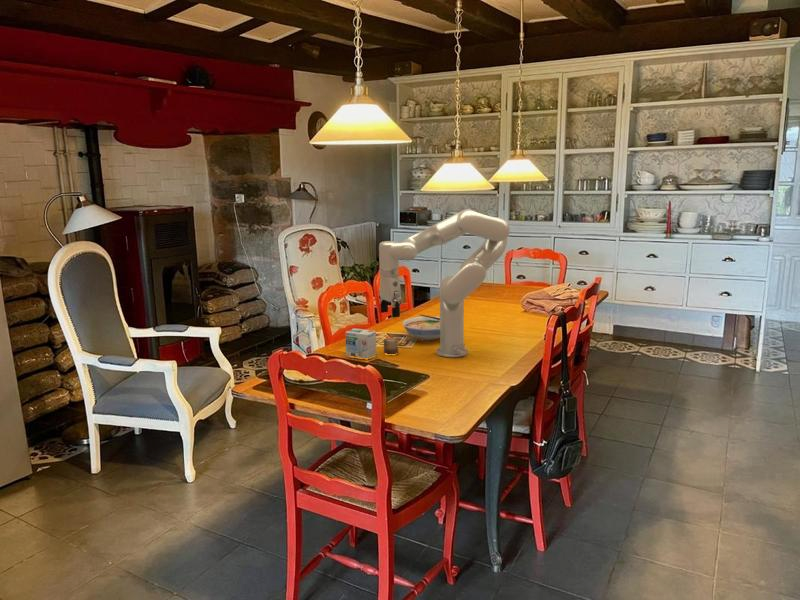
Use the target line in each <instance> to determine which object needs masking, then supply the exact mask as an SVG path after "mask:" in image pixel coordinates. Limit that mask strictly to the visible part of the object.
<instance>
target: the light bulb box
mask: <svg viewBox="0 0 800 600" xmlns="http://www.w3.org/2000/svg"><path fill="white" fill-rule="evenodd" d="M376 331H377V330H371V329H362V328H354V327H353V328H352V329H349V330H347V331H345V333H344V334H345V356H346V355H347V356H354V357H361V358H370V357H373V356H375V355H376V356H377V332H376Z"/></svg>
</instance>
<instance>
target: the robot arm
mask: <svg viewBox="0 0 800 600" xmlns="http://www.w3.org/2000/svg"><path fill="white" fill-rule="evenodd" d="M510 230H511V229H510V226H509V224H508V222H507V221H505V220H504V219H503V218H501V217H499V216H498V217H497V216H490V215H486V214H483V213H480V212H477V211H474V209H470V208H469V209H468V208H466V209H463V210H460V211H459V212H457V213H454V214H453V215H450V216H448V217H447V218H445V219H442V221H441V220H440V221H439V222H437V223H435V224H433V225H431V226H430V227H427V228H426V229H424V230H421V231H419V232H417V233H416V234H414V235H412V236H409V237H407V238H406V239H404V240H402V242H397V241H393V240H385V241H381V242H380V243H379V245H378V251H379V252H378V257H379V258H378V259H379V261H378V262H379V290H378V291H377V292H378V295H379V296H378V298H379V303H380V304H379V305H380V306H379V307H380V313H381V314H382V313H383V314H384V313H388V312H389V303H391V306H392V307H391V317H392V318H399V317H401V316H400V315H401V312H400V309H401V304H402V299H403V298H402V292H401V290H402V289H401V282H400V277H399V271H400V270H399V267H400V266H399V261H407V262H409V261H413V260H414V259H415V258H416V257H418V256H417V255H418V254H420V253H422V252H424V251H426V250H428V249H430V248H433V247H436V246H442V245H445V244H447V243H449V242H452V241H453V240H456V239H457V238H459V237H461V236H464V235H466V234H469V235H471V236H475V237H479V238H482V239H484V241H483V243H482V244H481V245H480V246H479V247H478V248H477V249H476V250H475V251H474V252H472V254H470V255H469V256H468V257H467V258H466V259H465V260H464V261H463V262H462V263H461V265H460V267H459V270H458V271H457V272H456V273H455V274H454V275H448V276H445V277H444V278H443V279H442V280H441V282H440V284H439V291H438V292H439V317H440V337H439V347H438V348H437V349H436V351H435V353H436V354H437V356H439V357H444V358H461V357H464V356H466V355H467V354H468V350H469V349H467V348H465V347H466V345H465V343H464V342H465V340H464V339H465V338H464V337H465V336H464V333H465V331H464V330H465V329H464V327H465V326H464V324H465V321H464V320H465V319H464V318H465V316H464V315H465V309H464V307H465V306H464V305H465V304H464V300H465V299H466V298H467V297H469V295H471V294H472V293H473V292H474V291H475V290H476V289H477V288H478V287H479V286H480V285H482V283H483V282H484V281H485V279H486V276H487V271H488V270H489V269H490V268H491V267H492V266H494V264H495V263H496V262H497V261H498V260H499V259H500V258H501V257H502V255H503V254H504V253H505V250H506V248H507V246H508V245H507V244H508V238H509V235H510V232H511V231H510Z"/></svg>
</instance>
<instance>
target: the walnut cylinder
mask: <svg viewBox="0 0 800 600" xmlns="http://www.w3.org/2000/svg"><path fill="white" fill-rule="evenodd" d="M398 341H399V340H398V338H396V337H387V338H384V339H383V354H384V353H387V354H396V353H398V354H399V348H398V347H399V343H398Z"/></svg>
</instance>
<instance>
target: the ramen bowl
mask: <svg viewBox="0 0 800 600" xmlns="http://www.w3.org/2000/svg"><path fill="white" fill-rule="evenodd" d="M401 323H402V326H403V327H404V329H405V330H406V332H407V333H408V334H409V335H411V336H412V337H414V338H417V339H419V338H420V339H419V340H421V339H423V340H422V341H434V339H435V340H436V339H440V316H429V315H425V314H420V316H416V317H410V318H408V319H404V320H403V321H402V322H401Z"/></svg>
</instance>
